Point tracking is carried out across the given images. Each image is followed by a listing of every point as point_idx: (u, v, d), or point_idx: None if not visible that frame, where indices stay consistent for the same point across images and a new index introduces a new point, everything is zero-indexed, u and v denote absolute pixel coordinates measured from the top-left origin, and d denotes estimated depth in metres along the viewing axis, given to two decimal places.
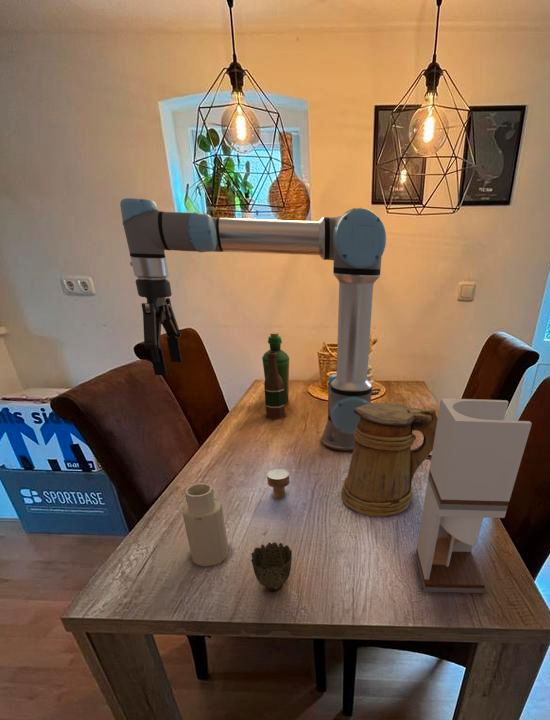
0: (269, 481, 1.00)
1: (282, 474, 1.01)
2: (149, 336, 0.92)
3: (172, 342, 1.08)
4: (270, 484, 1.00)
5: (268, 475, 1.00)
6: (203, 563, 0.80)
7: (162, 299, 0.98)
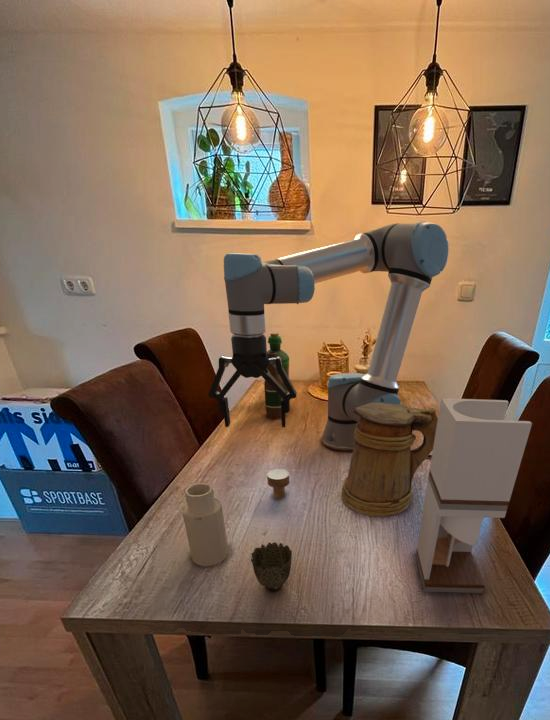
0: (269, 481, 1.00)
1: (282, 474, 1.01)
2: None
3: None
4: (270, 484, 1.00)
5: (268, 475, 1.00)
6: (203, 563, 0.80)
7: (255, 357, 0.88)
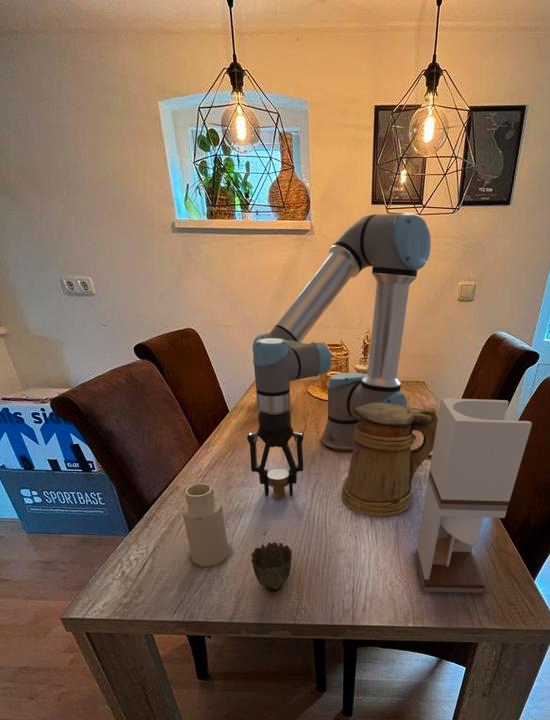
0: (269, 481, 1.00)
1: (282, 474, 1.01)
2: None
3: None
4: (270, 484, 1.00)
5: (268, 475, 1.00)
6: (203, 563, 0.80)
7: (280, 429, 0.94)
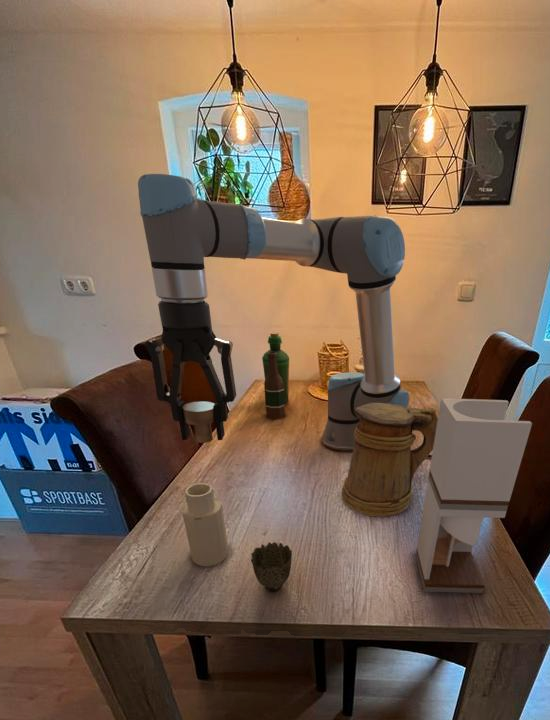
0: (185, 415, 0.69)
1: (205, 406, 0.70)
2: None
3: None
4: (187, 420, 0.69)
5: (184, 407, 0.70)
6: (203, 563, 0.80)
7: (194, 333, 0.63)
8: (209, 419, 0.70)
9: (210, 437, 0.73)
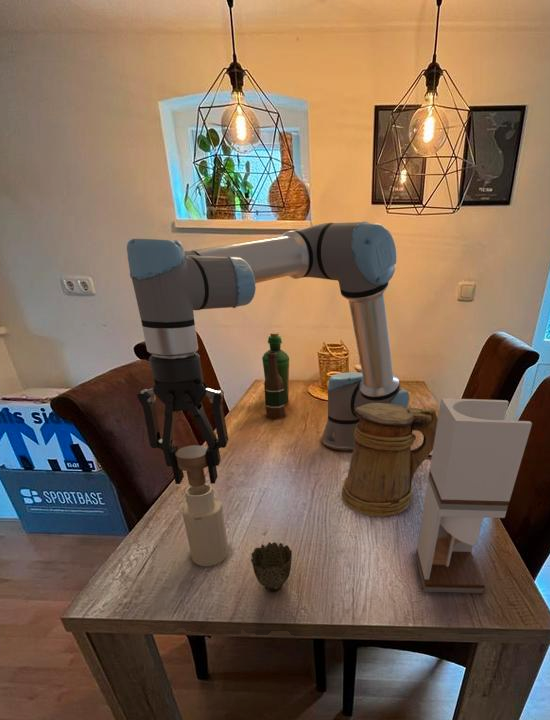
0: (178, 462, 0.70)
1: (198, 451, 0.71)
2: None
3: None
4: (179, 466, 0.70)
5: (177, 453, 0.70)
6: (203, 563, 0.80)
7: (185, 384, 0.64)
8: (201, 465, 0.71)
9: (203, 480, 0.74)
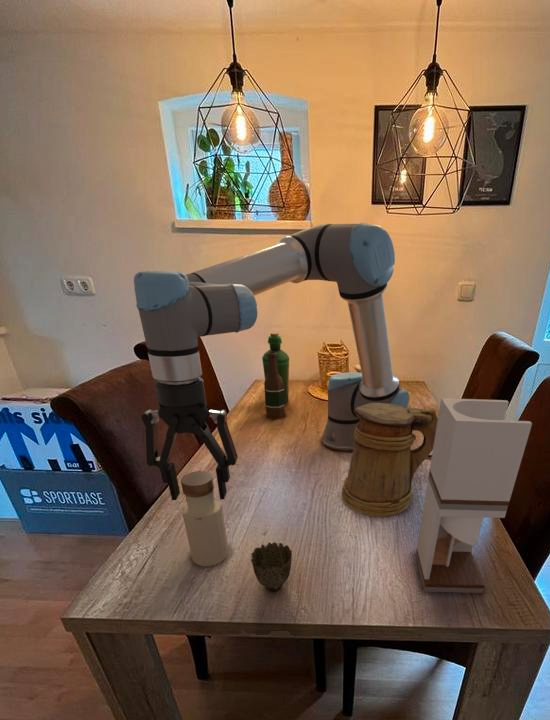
0: (183, 488, 0.73)
1: (202, 478, 0.74)
2: None
3: None
4: (185, 492, 0.73)
5: (182, 480, 0.73)
6: (203, 563, 0.80)
7: (189, 408, 0.66)
8: (206, 491, 0.73)
9: None
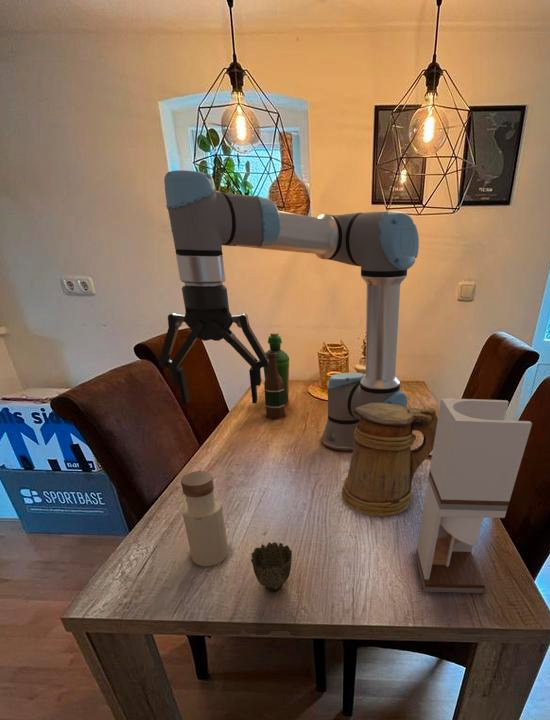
0: (183, 488, 0.73)
1: (202, 478, 0.74)
2: None
3: None
4: (185, 492, 0.73)
5: (182, 480, 0.73)
6: (203, 563, 0.80)
7: (213, 313, 0.70)
8: (206, 491, 0.73)
9: None
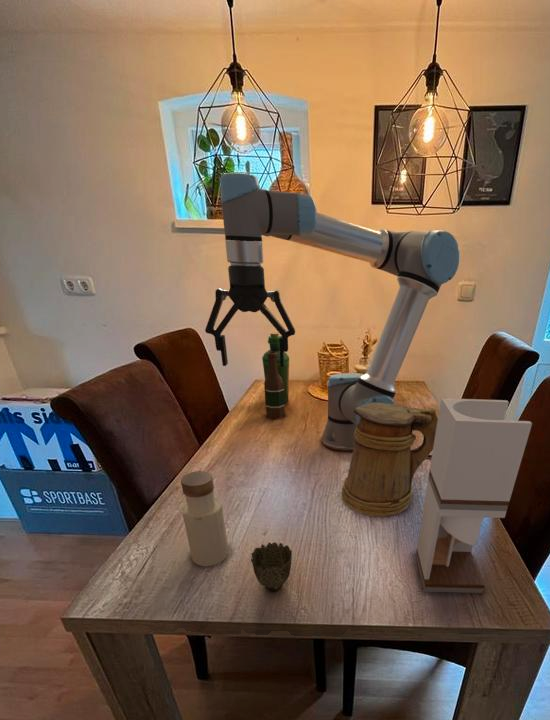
0: (183, 488, 0.73)
1: (202, 478, 0.74)
2: None
3: None
4: (185, 492, 0.73)
5: (182, 480, 0.73)
6: (203, 563, 0.80)
7: (252, 289, 0.86)
8: (206, 491, 0.73)
9: None
